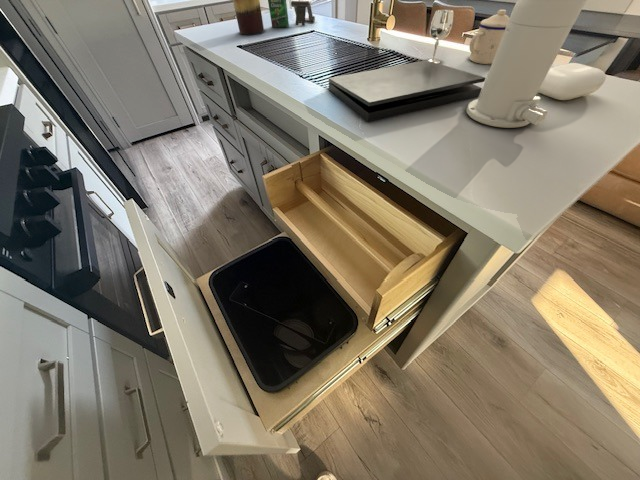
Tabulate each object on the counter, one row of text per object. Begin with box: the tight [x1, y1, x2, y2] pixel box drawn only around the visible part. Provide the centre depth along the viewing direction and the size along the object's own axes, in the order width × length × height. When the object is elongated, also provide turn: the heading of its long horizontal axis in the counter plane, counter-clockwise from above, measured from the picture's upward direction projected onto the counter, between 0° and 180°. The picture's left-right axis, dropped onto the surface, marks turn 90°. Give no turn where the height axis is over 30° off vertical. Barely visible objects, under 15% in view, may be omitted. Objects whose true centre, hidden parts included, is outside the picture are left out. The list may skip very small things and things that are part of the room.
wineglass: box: [427, 9, 455, 64], centre depth 77 cm, size 6×6×12 cm
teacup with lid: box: [469, 9, 510, 65], centre depth 77 cm, size 12×9×12 cm
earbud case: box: [537, 62, 607, 101], centre depth 61 cm, size 10×13×5 cm
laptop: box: [328, 81, 483, 123], centre depth 66 cm, size 21×30×2 cm
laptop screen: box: [328, 59, 486, 106], centre depth 65 cm, size 21×30×1 cm
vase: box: [232, 0, 265, 36], centre depth 112 cm, size 11×11×20 cm
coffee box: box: [267, 0, 290, 29], centre depth 119 cm, size 8×3×13 cm, turn 70°
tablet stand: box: [290, 0, 316, 26], centre depth 124 cm, size 9×8×8 cm
